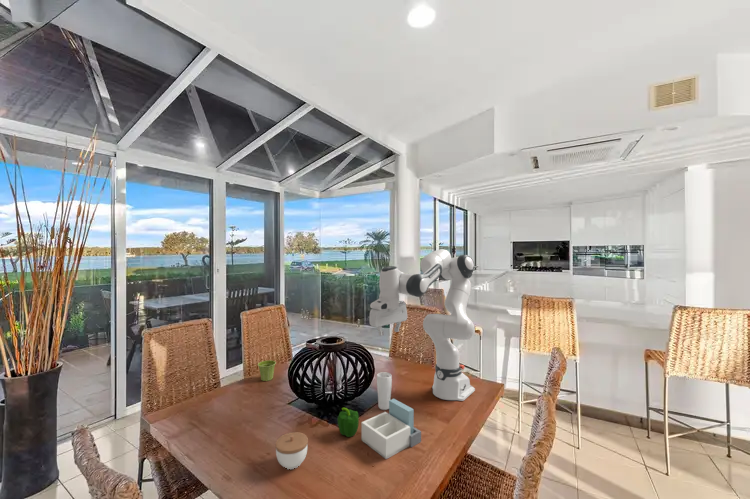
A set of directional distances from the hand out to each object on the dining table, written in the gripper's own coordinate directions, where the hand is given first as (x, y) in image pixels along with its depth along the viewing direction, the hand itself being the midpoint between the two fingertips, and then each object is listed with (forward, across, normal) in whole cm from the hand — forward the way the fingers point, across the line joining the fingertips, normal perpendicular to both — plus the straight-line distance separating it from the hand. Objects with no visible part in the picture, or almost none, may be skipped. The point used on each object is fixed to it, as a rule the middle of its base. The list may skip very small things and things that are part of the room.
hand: (389, 333), depth 148 cm
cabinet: (+34, +15, +18) cm, 42 cm away
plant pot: (+34, +30, -66) cm, 80 cm away
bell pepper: (+34, +25, +4) cm, 43 cm away
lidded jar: (+34, +50, +6) cm, 61 cm away
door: (+34, +10, +18) cm, 40 cm away
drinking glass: (+34, +1, -2) cm, 34 cm away
